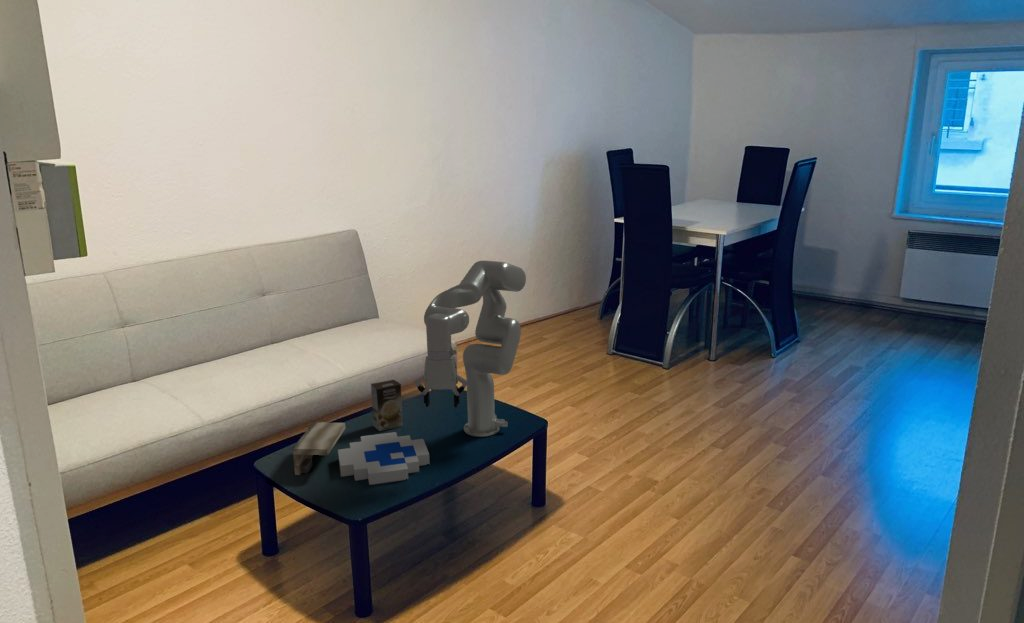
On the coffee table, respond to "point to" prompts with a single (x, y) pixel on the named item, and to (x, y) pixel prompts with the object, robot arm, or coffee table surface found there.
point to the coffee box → (386, 405)
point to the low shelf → (315, 444)
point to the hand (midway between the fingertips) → (441, 405)
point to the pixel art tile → (383, 458)
